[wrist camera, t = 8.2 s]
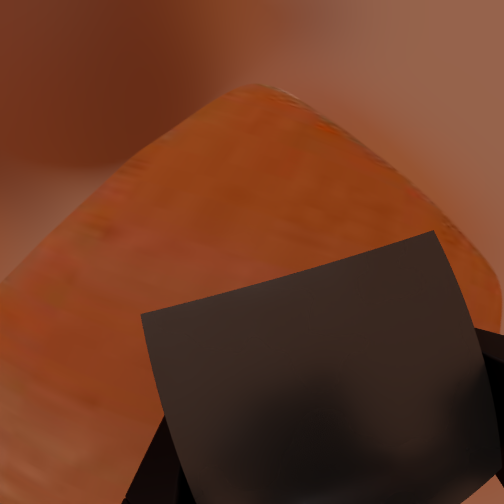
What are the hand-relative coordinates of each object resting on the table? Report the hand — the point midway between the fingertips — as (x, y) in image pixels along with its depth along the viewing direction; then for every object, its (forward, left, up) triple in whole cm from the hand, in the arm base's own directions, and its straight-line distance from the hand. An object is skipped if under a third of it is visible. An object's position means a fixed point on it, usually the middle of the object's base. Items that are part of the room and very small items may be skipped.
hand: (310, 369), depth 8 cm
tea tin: (-1, +1, -7) cm, 7 cm away
